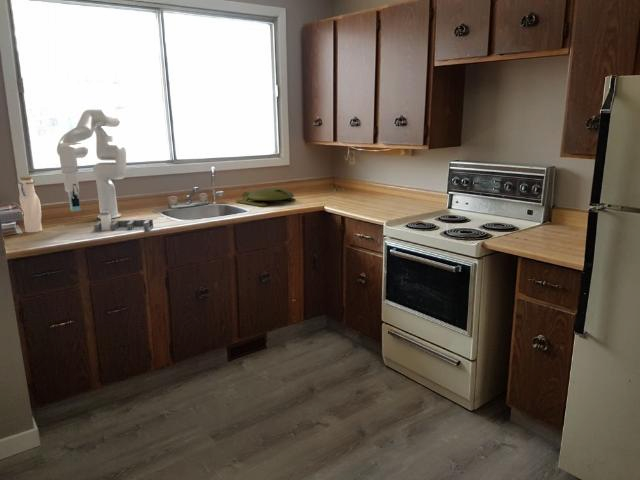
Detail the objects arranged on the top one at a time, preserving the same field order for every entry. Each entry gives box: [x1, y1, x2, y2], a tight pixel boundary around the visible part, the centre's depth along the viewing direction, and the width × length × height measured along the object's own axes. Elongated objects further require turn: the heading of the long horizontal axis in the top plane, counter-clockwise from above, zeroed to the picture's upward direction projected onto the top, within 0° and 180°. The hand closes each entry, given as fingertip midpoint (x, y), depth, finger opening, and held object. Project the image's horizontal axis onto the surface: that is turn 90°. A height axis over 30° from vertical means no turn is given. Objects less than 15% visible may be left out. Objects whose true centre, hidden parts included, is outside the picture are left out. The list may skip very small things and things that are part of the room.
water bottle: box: [17, 176, 43, 233], centre depth 261 cm, size 10×9×28 cm
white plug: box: [99, 211, 112, 230], centre depth 262 cm, size 4×4×9 cm
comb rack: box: [91, 218, 154, 233], centre depth 264 cm, size 12×28×4 cm, turn 98°
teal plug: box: [67, 192, 82, 212], centre depth 260 cm, size 4×4×9 cm
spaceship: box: [235, 187, 297, 208], centre depth 339 cm, size 35×31×10 cm
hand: (75, 205), depth 260 cm, fingers closed on teal plug, 4 cm apart
